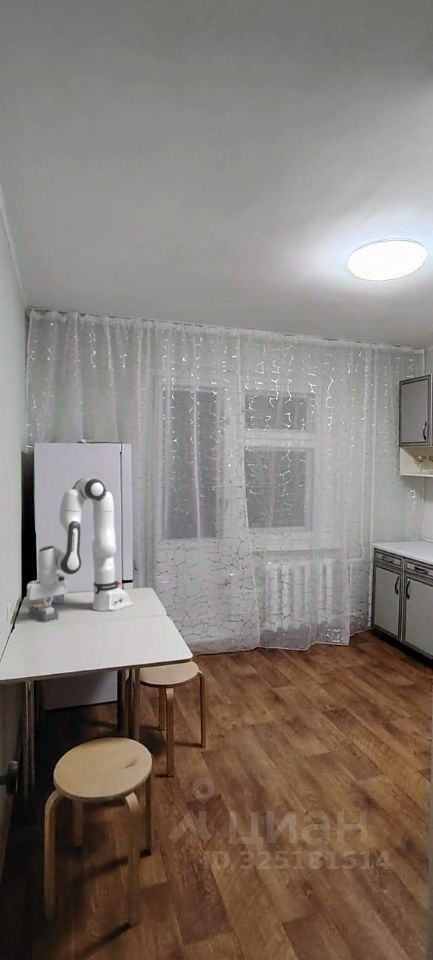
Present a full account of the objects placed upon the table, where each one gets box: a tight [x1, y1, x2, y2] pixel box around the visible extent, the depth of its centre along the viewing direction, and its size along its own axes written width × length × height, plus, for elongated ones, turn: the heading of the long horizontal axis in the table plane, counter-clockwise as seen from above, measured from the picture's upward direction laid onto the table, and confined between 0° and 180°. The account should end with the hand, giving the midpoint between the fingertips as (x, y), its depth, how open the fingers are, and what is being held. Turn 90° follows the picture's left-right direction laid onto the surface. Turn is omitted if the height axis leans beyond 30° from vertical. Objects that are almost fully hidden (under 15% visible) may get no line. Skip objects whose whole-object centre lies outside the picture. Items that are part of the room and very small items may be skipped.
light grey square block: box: [38, 604, 50, 612], centre depth 257 cm, size 4×4×3 cm
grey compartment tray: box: [28, 603, 59, 623], centre depth 257 cm, size 7×20×4 cm, turn 42°
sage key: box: [43, 606, 55, 615], centre depth 252 cm, size 4×4×3 cm
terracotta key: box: [32, 603, 41, 609], centre depth 262 cm, size 4×4×3 cm
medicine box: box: [47, 594, 65, 605], centre depth 280 cm, size 8×4×9 cm, turn 73°
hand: (47, 605), depth 252 cm, fingers closed
